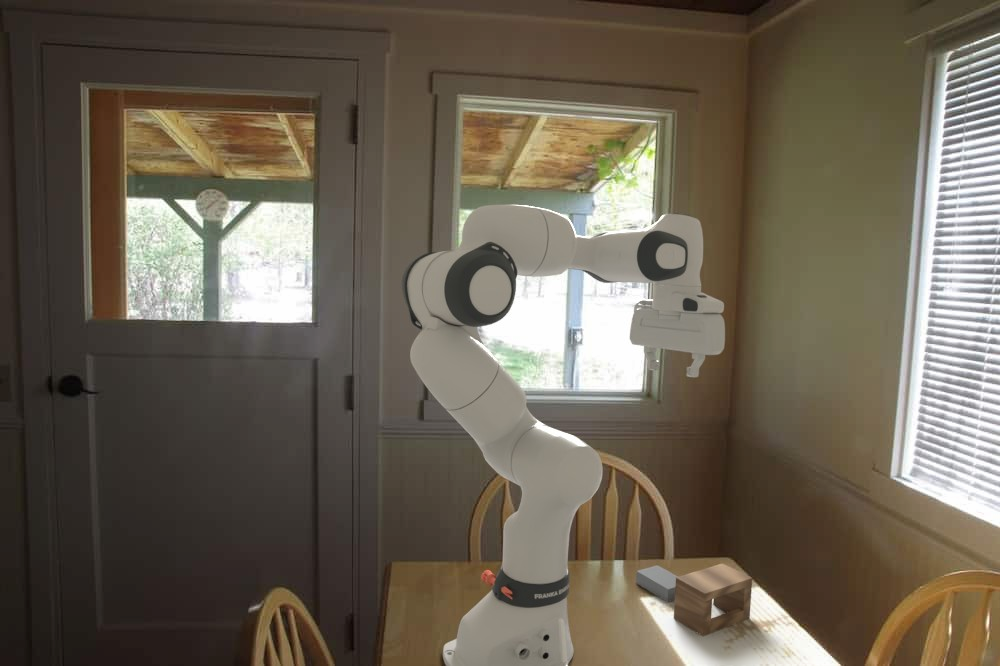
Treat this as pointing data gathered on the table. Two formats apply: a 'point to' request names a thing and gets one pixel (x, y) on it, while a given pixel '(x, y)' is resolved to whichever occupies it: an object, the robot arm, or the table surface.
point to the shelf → (712, 584)
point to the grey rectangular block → (657, 582)
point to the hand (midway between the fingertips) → (672, 373)
